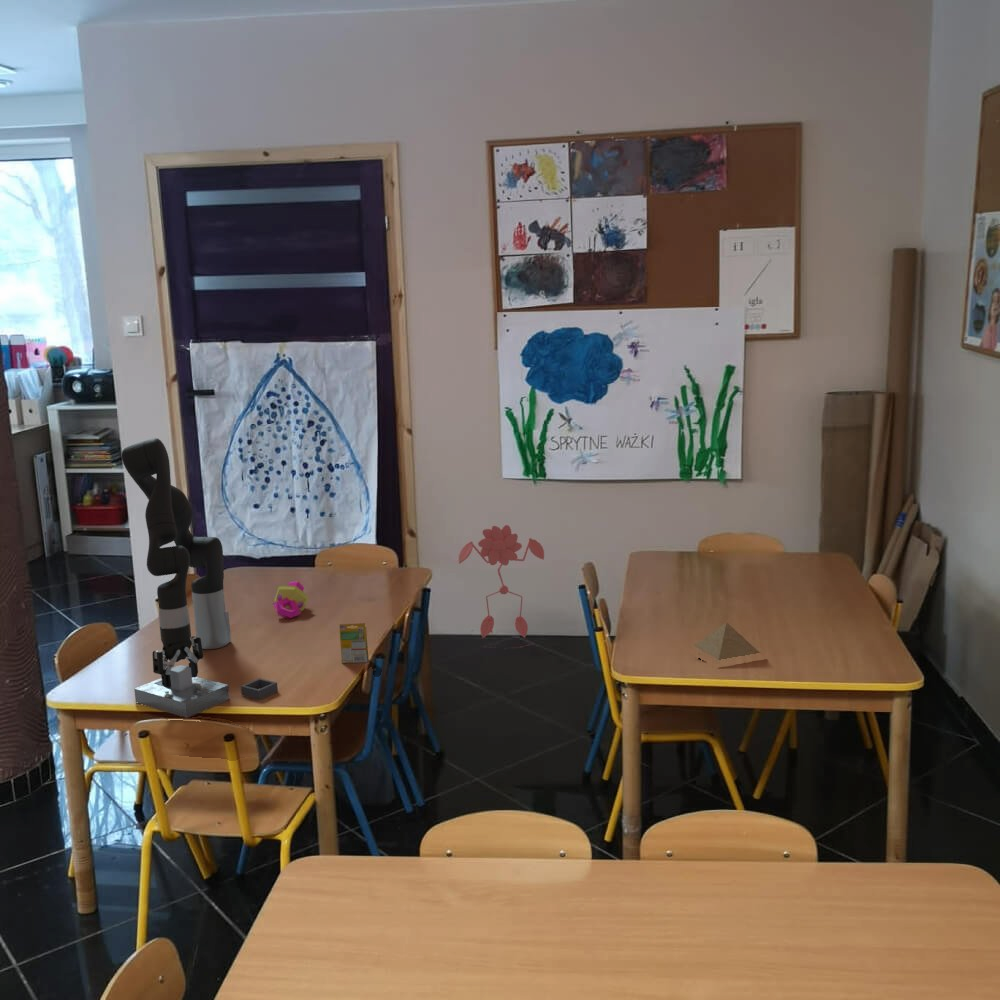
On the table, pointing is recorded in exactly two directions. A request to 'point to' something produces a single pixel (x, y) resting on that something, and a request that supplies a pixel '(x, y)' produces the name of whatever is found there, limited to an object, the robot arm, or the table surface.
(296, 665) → the table surface
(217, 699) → the port panel
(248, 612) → the table surface
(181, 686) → the plug
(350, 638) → the crayon box
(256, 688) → the dark grey square frame
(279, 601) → the toy
